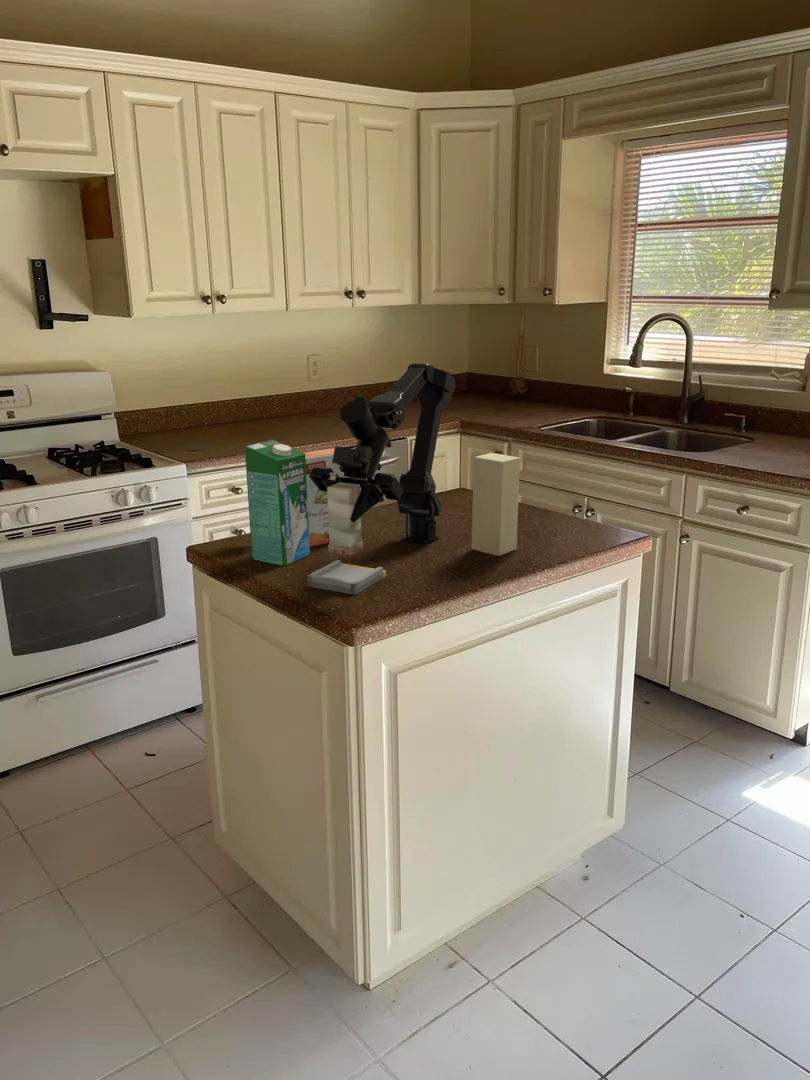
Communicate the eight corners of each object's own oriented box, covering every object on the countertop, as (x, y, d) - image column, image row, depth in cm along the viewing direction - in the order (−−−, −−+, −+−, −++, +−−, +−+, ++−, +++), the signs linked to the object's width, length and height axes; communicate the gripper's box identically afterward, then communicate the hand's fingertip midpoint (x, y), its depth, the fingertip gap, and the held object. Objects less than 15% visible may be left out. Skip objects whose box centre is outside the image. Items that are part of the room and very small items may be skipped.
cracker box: (308, 549, 193) (304, 457, 187) (293, 543, 197) (289, 454, 191) (357, 537, 202) (355, 449, 196) (342, 531, 206) (339, 445, 200)
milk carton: (283, 566, 182) (277, 449, 174) (251, 559, 186) (244, 445, 179) (310, 554, 189) (305, 442, 182) (278, 548, 194) (272, 438, 186)
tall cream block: (519, 549, 191) (522, 456, 185) (499, 556, 186) (501, 461, 180) (491, 542, 196) (492, 451, 190) (471, 549, 191) (472, 456, 185)
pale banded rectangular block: (341, 544, 173) (339, 482, 169) (363, 548, 171) (361, 484, 167) (328, 551, 169) (325, 487, 165) (350, 555, 166) (348, 490, 163)
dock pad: (340, 568, 180) (339, 558, 179) (386, 576, 175) (385, 565, 174) (307, 586, 169) (307, 575, 169) (355, 594, 164) (355, 584, 164)
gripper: (311, 426, 170) (282, 492, 164) (395, 433, 162) (367, 503, 156) (334, 458, 179) (307, 522, 173) (414, 465, 171) (389, 533, 165)
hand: (341, 519), depth 166 cm, fingers closed on pale banded rectangular block, 5 cm apart
